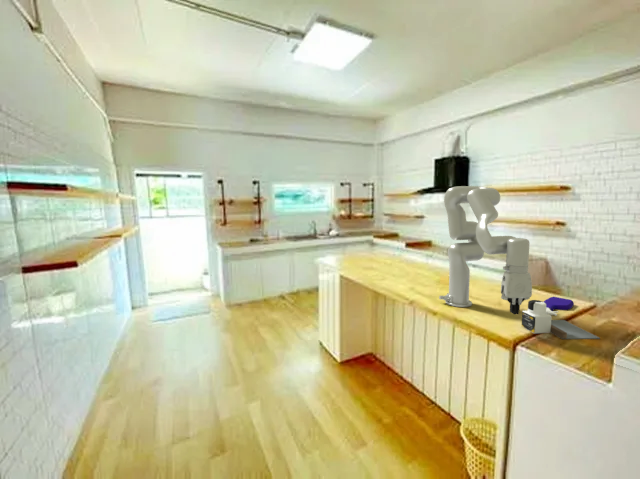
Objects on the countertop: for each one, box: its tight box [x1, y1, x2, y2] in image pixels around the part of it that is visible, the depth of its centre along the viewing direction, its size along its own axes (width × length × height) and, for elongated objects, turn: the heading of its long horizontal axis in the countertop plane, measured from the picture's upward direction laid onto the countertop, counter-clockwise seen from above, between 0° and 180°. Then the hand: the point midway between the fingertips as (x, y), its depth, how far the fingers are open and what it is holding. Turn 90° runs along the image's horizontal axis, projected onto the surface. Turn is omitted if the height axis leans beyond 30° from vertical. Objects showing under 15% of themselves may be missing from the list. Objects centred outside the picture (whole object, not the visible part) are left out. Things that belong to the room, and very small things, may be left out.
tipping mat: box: [550, 319, 601, 340], centre depth 126 cm, size 14×18×2 cm
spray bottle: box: [543, 296, 575, 317], centre depth 151 cm, size 3×11×24 cm
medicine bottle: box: [521, 299, 553, 334], centre depth 126 cm, size 7×7×12 cm
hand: (514, 313), depth 126 cm, fingers closed
